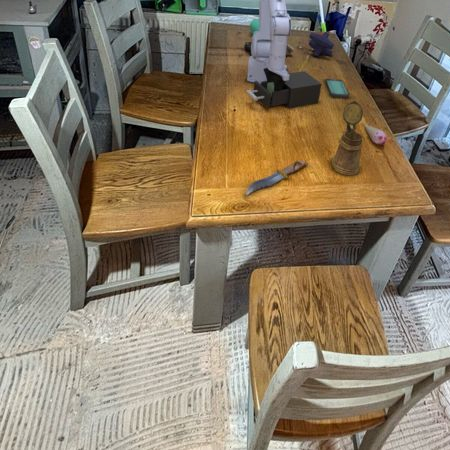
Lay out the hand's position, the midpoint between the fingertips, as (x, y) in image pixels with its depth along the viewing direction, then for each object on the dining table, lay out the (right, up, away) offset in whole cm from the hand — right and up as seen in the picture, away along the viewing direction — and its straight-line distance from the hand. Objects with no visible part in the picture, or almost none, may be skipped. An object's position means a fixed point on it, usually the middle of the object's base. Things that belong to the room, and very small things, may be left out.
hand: (274, 91), depth 147 cm
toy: (-8, +38, +43) cm, 58 cm away
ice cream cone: (+33, -13, -1) cm, 35 cm away
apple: (+20, +38, +49) cm, 65 cm away
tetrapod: (+14, +35, +40) cm, 55 cm away
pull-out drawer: (-2, -3, +2) cm, 4 cm away
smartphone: (+25, +7, +19) cm, 32 cm away
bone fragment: (+7, +35, +36) cm, 51 cm away
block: (0, -1, +1) cm, 1 cm away
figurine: (+10, +39, +49) cm, 63 cm away
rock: (-6, +33, +36) cm, 49 cm away
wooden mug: (+24, -30, -19) cm, 43 cm away
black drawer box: (+8, 0, +8) cm, 11 cm away
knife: (+1, -34, -30) cm, 45 cm away
